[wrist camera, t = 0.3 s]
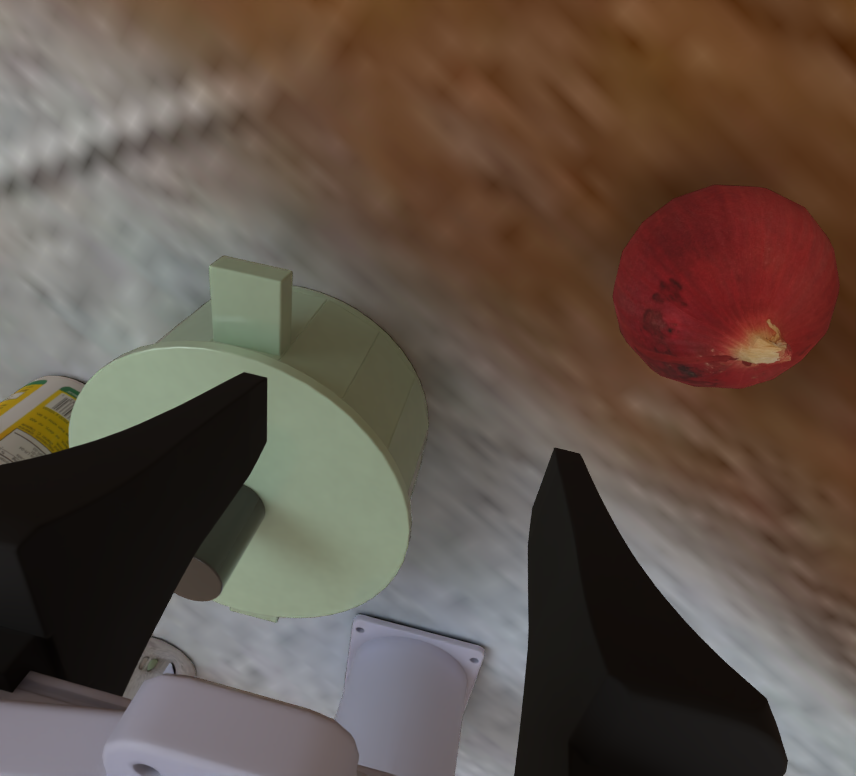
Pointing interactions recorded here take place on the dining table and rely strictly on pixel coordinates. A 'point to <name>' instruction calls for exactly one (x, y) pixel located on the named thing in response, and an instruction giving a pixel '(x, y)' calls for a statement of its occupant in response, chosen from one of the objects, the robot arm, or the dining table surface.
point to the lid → (272, 483)
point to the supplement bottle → (37, 418)
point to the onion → (726, 287)
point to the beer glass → (158, 665)
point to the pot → (316, 351)
